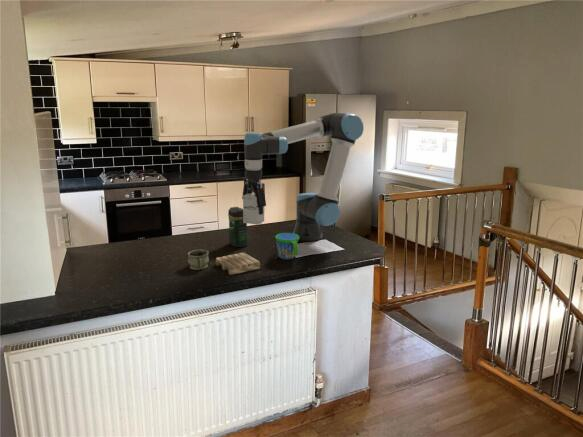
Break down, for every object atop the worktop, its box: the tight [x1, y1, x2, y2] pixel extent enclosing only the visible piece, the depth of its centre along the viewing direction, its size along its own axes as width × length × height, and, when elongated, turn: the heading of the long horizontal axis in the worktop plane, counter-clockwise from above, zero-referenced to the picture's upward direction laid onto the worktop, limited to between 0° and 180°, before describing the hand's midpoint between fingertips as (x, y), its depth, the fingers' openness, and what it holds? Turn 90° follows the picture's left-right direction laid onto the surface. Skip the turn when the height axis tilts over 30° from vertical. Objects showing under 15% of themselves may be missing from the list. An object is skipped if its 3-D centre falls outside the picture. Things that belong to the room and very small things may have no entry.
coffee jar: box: [227, 206, 249, 248], centre depth 225 cm, size 10×8×19 cm
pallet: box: [215, 252, 261, 276], centre depth 198 cm, size 14×14×3 cm
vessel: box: [187, 249, 210, 271], centre depth 198 cm, size 12×9×6 cm
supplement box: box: [242, 192, 265, 226], centre depth 206 cm, size 7×7×13 cm
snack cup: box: [274, 232, 300, 261], centre depth 209 cm, size 16×10×10 cm
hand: (253, 218), depth 207 cm, fingers closed on supplement box, 10 cm apart
